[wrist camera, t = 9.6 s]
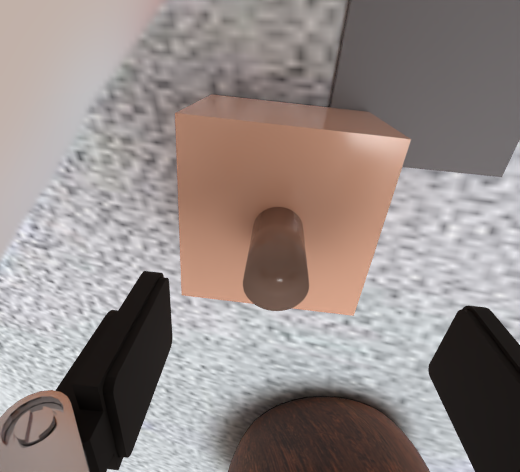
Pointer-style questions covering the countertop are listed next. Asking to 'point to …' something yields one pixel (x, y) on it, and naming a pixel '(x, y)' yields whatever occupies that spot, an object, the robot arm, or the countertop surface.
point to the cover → (282, 201)
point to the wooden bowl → (325, 440)
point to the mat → (437, 78)
